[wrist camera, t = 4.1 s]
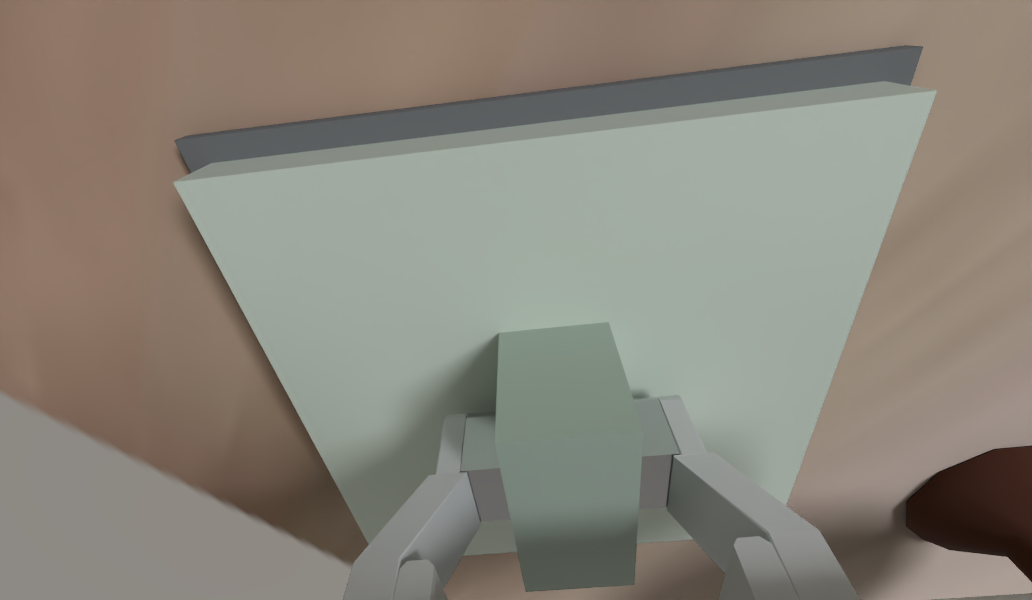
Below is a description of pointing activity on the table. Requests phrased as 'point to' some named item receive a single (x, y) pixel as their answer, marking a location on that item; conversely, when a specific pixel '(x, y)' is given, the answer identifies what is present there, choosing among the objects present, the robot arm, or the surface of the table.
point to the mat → (554, 105)
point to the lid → (566, 299)
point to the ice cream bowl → (980, 507)
